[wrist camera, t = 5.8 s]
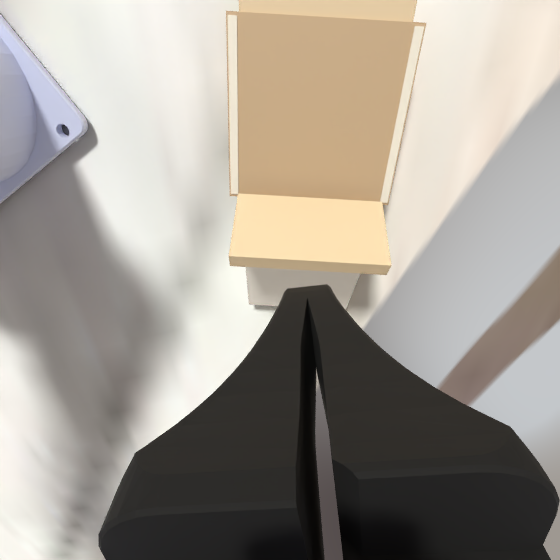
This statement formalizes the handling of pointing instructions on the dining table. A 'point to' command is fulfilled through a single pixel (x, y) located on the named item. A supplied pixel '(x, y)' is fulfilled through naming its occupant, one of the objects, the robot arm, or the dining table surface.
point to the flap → (307, 244)
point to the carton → (319, 95)
